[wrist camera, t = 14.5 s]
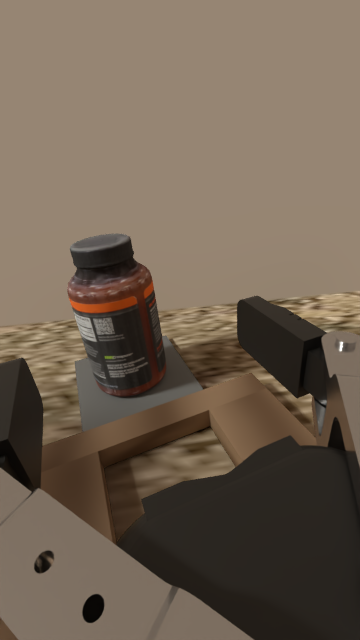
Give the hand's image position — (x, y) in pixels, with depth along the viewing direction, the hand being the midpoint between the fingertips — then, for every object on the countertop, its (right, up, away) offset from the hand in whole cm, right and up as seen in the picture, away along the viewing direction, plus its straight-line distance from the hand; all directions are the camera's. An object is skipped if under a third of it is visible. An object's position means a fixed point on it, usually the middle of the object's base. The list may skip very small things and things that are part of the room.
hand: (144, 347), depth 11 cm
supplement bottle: (-3, -4, +14) cm, 15 cm away
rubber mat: (-3, -4, +14) cm, 15 cm away
